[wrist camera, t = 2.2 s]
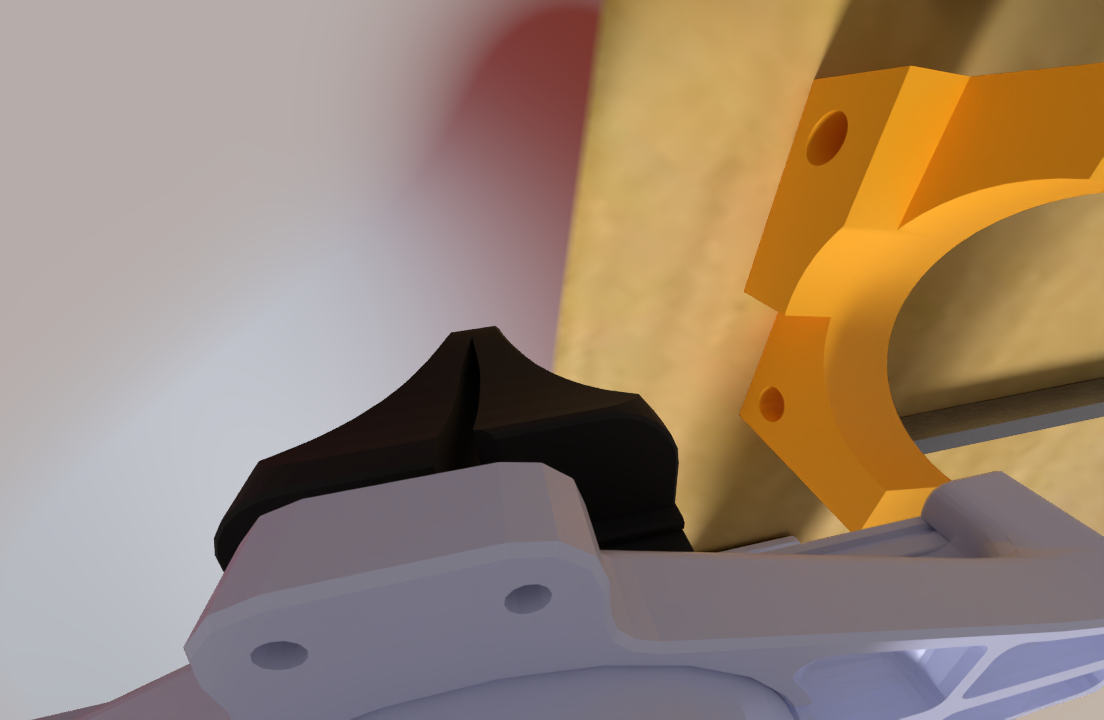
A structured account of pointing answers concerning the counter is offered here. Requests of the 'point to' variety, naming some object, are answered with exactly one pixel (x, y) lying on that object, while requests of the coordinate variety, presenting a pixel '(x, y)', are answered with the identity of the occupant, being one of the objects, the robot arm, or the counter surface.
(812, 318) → the pipe clamp
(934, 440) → the frame
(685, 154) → the counter surface
